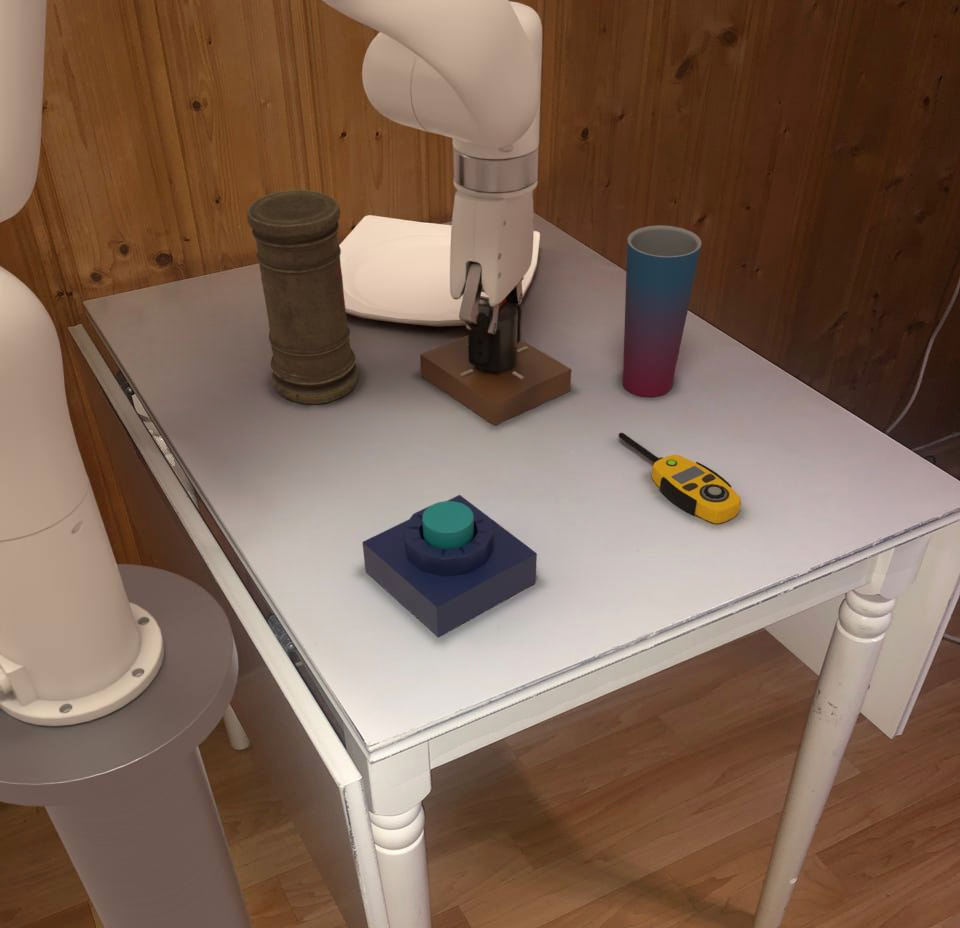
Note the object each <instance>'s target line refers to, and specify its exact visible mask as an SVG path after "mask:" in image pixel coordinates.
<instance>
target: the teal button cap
mask: <svg viewBox="0 0 960 928" xmlns="http://www.w3.org/2000/svg"><path fill="white" fill-rule="evenodd" d="M427 507H428V508H427ZM427 507H426V508H427V509H426V510H425V511H424V513H423V516H422V520H423V536H424V539H425V541H426V542H427V543H428V544H429V545H431V546H435V547H439V548H443V549H449V548H459V547H462V546H464V545H466V544H468V543H469V542H470V541H471V540H472V538H473V535H474V516H473V512H472V511H471V509H470V508H469V507H467V506H466V505H464V504H462V503H459V502H454V501H448V500H444V501H438V502H436V503H433V504H431V505H429V506H427Z"/></svg>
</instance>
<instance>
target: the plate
mask: <svg viewBox="0 0 960 928" xmlns="http://www.w3.org/2000/svg"><path fill="white" fill-rule="evenodd" d="M451 226H452V224H442V223H433V222H421V221H414V220H407V219H400V218H394V217H385V216H380V215H379V216H378V215H371V214H368V215H365V216H364V217H363V218H362V219H361V220H360V221H359V222H358V223H357V224H356V226H355V227H354V228H353V229H352V230H351V231H350V232H349V234H348V235H347V236H346V237H345V238H344V239H343V240H342V241H341V243H340V244H339V246H340V249H341V254H340V264H341V272H342V280H343V291H344V301H345V310H346V315H347V314H348V315H350V316H354V317H357V318H361V319H368V320H375V321H383V322H388V323H389V322H391V323H397V324H398V323H399V324H409V325H417V326H418V325H419V326H429V327H460V326H466V322H464V321H462V320H461V319H460V318H459V312H460V308H461V303H462V299H463V295H462V296H461V297H460V299H453V298H452V297H451V294H450V244H451ZM540 241H541V232H539V231H537V230H534V232H533V253H532V262H531V265H530V268H529V270H528V271H527V273H526V274H525V275H524V279H523V280H522V293H523V297H522V299H523V298H524V296H525V294H526V292H527V290H528V289H529V287H530V285H531V283H532V281H533V278H534V276H535V275H534V274H535V272H536V269H537V267H538V259H539V258H538V257H539V250H540ZM481 296H484V297H489V295H486V294H485V292H481Z"/></svg>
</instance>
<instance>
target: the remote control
mask: <svg viewBox="0 0 960 928" xmlns="http://www.w3.org/2000/svg"><path fill="white" fill-rule="evenodd" d="M618 438H619V439H620V440H621V441H623V442H625V443H626V444H627V445H628V446H630V447H631V448H633V449H634V450H636V451H637V452H638V453H640V454H641V455H643V456H644V457H645V458H647V459H648V460H650V461H651V462H652V463H653V465H652V467H651V469H652V470H651V479H652V480H653V482H654V483H655V484H656V486H657V487H658V488H659V491H660V492H661V493H662V494H663V496H664V497H665V498H667V499H668V500H669V501H670V502H671V503H672V504H674V505H675V506H677V507H678V508H679V509H681V510H683V511H685V512H686V513H688V514H690V515H691V516H698V517H699V518H701V519H703V520H706V521H708V522H710V523H712V524H722V523H725V522H727V521H730V520H731V519H734V518H735V517H736V516H737V515H738V514H739V513H740V510H741V507H742V506H741V505H742V499H741V497H740V496H739V494H738V493H737V492H736V490H734V488H732V485H731V484H730V483H729V482H728V481H727V480H726V479H725V478H724V477H723V476H721V475H720V474H718V473H717V472H716V471H714V470H713V469H711V468H709V467H708V466H706V465H705V464H702V463H701V462H698V461H696V462H694V461H693V460H691V459H688V458H687V457H684V456H682V455H679V454H670V455H667V456H664V457H658V456H656V455H655V454H654V453H652V452H651V451H649V450H648V449H647V448H645V447H644V446H642V445H641V444H640V443H638V442H637V441H635V440H634V439H632V438H631V437H630V436H628V435H627V434H625V433H624V432H619V433H618Z"/></svg>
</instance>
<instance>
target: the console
mask: <svg viewBox="0 0 960 928" xmlns="http://www.w3.org/2000/svg"><path fill="white" fill-rule="evenodd" d="M419 358H420V361H419V362H420V377H422V378H423V379H425V380H427V381H428V382H429V383H431V384H432V385H434V386H435V387H437V388H438V389H440V390H441V391H442V392H444V393H445V394H447V395H448V396H450V397H452V398H453V399H454V400H456V401H457V402H458V403H460V404H462V405H463V406H464V407H466V408H468V409H469V410H470V411H472V412H474V413H475V414H476V415H478V416H480V417H481V418H482V419H484V420H485V421H487V422H488V423H490V424H492V426H497V425H499V424H502V423H504V422H506V421H508V420H509V419H512V418H515V417H517V416H518V415H520V414H523V413H525V412H528V411H530V410H532V409H534V408H537V407H538V406H540V405H543V404H545V403H547V402H549V401H551V400H554V399H556V398H558V397H560V396H562V395H564V394H567V393H569V392H571V381H572V369H571V368H570V367H568V366H567V365H564V364H563V363H561V362H560V361H558V360H557V359H554V358H553V357H551V356H550V355H548V354H546V353H545V352H543V351H541V350H539V349H538V348H536V347H534V346H533V345H531V344H530V343H528V342H526V341H525V340H523V339H521V338H520V341H519V343H518V344H517V362H516V364H515V366H514V367H513V368H511V369H509V370H506V371H503V372H487V371H483V370H481V369H479V368H477V367H476V366H475V365H472V364H470V363H469V354H468V334H467V335H465V336H463V337H460V338H458V339H455V340H452V341H450V342H448V343H445V344H443V345H440V346H437V347H435V348H433V349H430V350H428V351H425V352H422V353H420V354H419Z"/></svg>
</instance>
